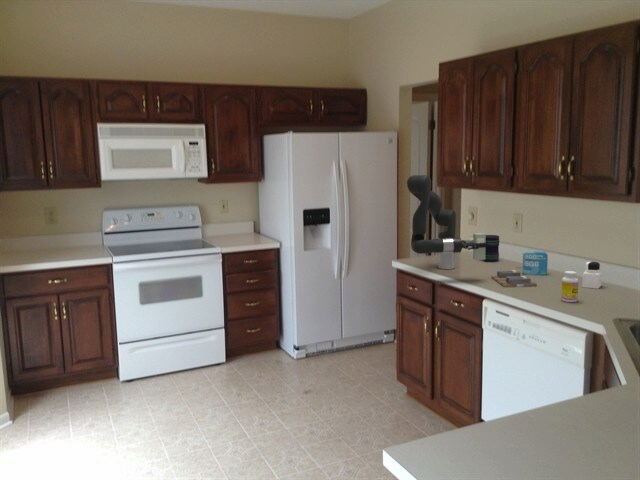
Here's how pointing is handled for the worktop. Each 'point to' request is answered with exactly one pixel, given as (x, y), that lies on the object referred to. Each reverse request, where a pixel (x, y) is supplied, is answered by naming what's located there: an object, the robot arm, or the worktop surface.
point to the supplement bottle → (569, 287)
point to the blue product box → (535, 263)
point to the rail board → (502, 280)
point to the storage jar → (492, 248)
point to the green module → (479, 253)
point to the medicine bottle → (592, 275)
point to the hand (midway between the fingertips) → (484, 244)
